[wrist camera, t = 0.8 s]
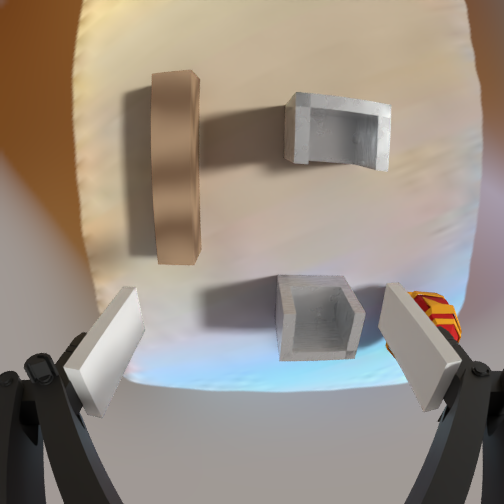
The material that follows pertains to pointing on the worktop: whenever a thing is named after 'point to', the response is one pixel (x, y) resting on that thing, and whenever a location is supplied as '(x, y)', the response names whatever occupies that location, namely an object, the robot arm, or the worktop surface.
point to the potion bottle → (437, 312)
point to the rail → (176, 166)
